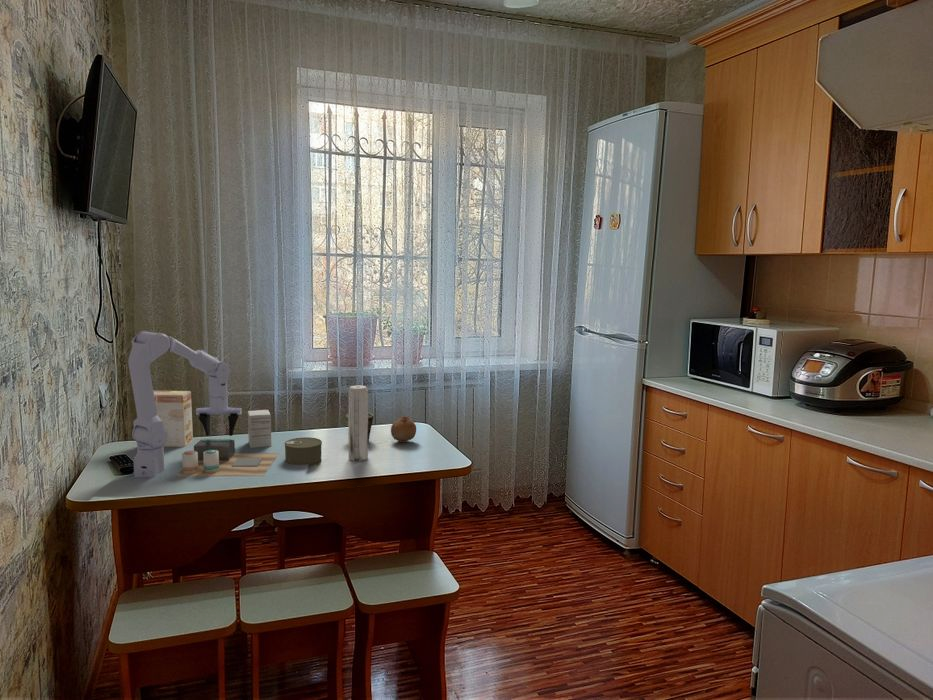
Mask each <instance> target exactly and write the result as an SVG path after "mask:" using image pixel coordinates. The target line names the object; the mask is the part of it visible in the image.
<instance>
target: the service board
mask: <svg viewBox="0 0 933 700" xmlns="http://www.w3.org/2000/svg"><path fill="white" fill-rule="evenodd" d="M279 454H280V453H279V452H269V453H268V452H263V453H262V452H260V453H259V452H252V453H251V452H247V453H246V452H245V453H243V452H242V453H241V452H237V453H236V452H235V455H234V456H233V457H232V458H231V459H230V460H229V461H219V471H218V472H214V473H205V472H204V461H198V472H197V473H194V474H184V473H183V469H182V470H181V471H180V472H179V473H178V474H177V475H176V477H264V476H265V475H266V473H267V472H268V471H269V469H270V467H271V466H272V465H273V463H274V462H275V460H277V459H276V458H277V457H278V456H279ZM238 458H263V460H262V461H261V462H260V464H259V465H258V466H232V465H233V463H234V462H235V461H236V460H237V459H238Z"/></svg>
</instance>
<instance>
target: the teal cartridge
mask: <svg viewBox="0 0 933 700" xmlns="http://www.w3.org/2000/svg"><path fill="white" fill-rule="evenodd" d="M203 458H204V472H205V473H214V472H218V471H219V451H217V450H207V451H205V452H203Z"/></svg>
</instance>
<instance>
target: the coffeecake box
mask: <svg viewBox="0 0 933 700" xmlns="http://www.w3.org/2000/svg"><path fill="white" fill-rule="evenodd" d="M153 392H154V398H155V404H156V410H157V415H158V417H159V418H160V419H161V420H162V422H163V426H164V428H165V429H166V431H167V433H168V438H167V441H166V442H165V444H164V448H166V447H183V448H184V447H187V446H189V445H190V444H191V443H193V442H194V435H193V432H194V431H193V411H192V410H193V409H192V408H193V407H192V405H193V404H192V391H191V390H154V389H153Z"/></svg>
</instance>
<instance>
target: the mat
mask: <svg viewBox="0 0 933 700" xmlns="http://www.w3.org/2000/svg"><path fill="white" fill-rule="evenodd" d="M262 460H263V458H238V459H237V460H236V461H235V462H234V463H233V465H232V466H258V465H259V464H260V462H261V461H262Z"/></svg>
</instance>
